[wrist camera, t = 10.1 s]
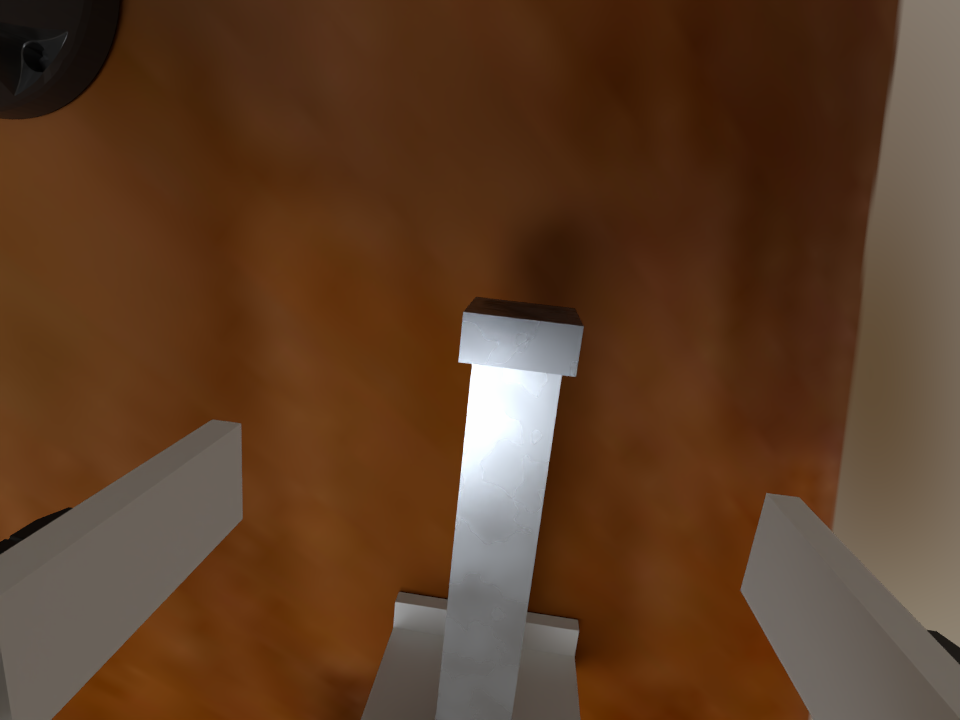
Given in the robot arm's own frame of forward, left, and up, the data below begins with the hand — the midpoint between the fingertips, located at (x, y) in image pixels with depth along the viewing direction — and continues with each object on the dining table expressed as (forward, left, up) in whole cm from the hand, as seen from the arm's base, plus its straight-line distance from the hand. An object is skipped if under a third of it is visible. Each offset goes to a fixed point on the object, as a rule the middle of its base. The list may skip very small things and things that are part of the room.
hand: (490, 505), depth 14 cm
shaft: (+9, 0, -13) cm, 15 cm away
